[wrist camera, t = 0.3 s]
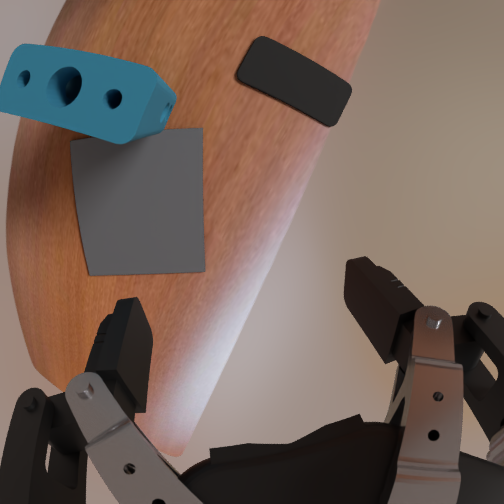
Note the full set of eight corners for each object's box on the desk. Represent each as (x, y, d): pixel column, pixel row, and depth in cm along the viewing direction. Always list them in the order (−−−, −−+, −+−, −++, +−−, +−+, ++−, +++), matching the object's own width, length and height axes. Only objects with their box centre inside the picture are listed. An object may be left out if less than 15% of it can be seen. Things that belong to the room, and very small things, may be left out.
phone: (333, 130, 36) (233, 78, 31) (331, 129, 36) (233, 79, 31) (354, 87, 33) (259, 32, 28) (351, 87, 34) (257, 34, 29)
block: (87, 108, 29) (-8, 110, 11) (101, 73, 27) (16, 43, 10) (167, 134, 33) (130, 148, 15) (183, 98, 31) (162, 70, 13)
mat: (71, 140, 30) (69, 141, 30) (202, 128, 33) (202, 128, 33) (90, 273, 39) (89, 275, 38) (205, 269, 42) (205, 271, 41)
